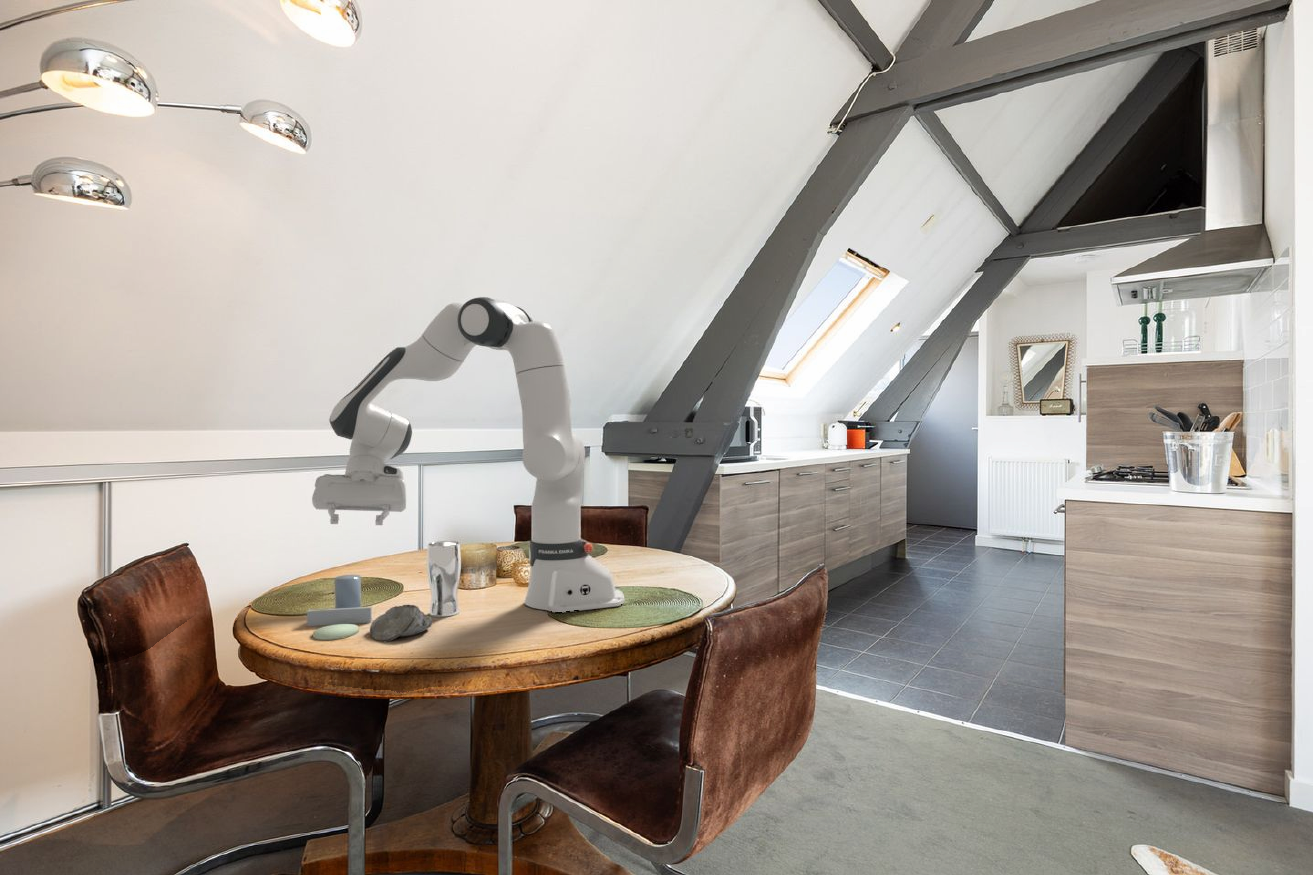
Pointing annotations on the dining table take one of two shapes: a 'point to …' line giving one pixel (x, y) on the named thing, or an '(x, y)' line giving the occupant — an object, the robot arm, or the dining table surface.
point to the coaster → (335, 632)
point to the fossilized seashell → (399, 623)
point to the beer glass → (444, 577)
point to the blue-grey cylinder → (348, 591)
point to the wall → (339, 616)
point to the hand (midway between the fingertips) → (356, 523)
